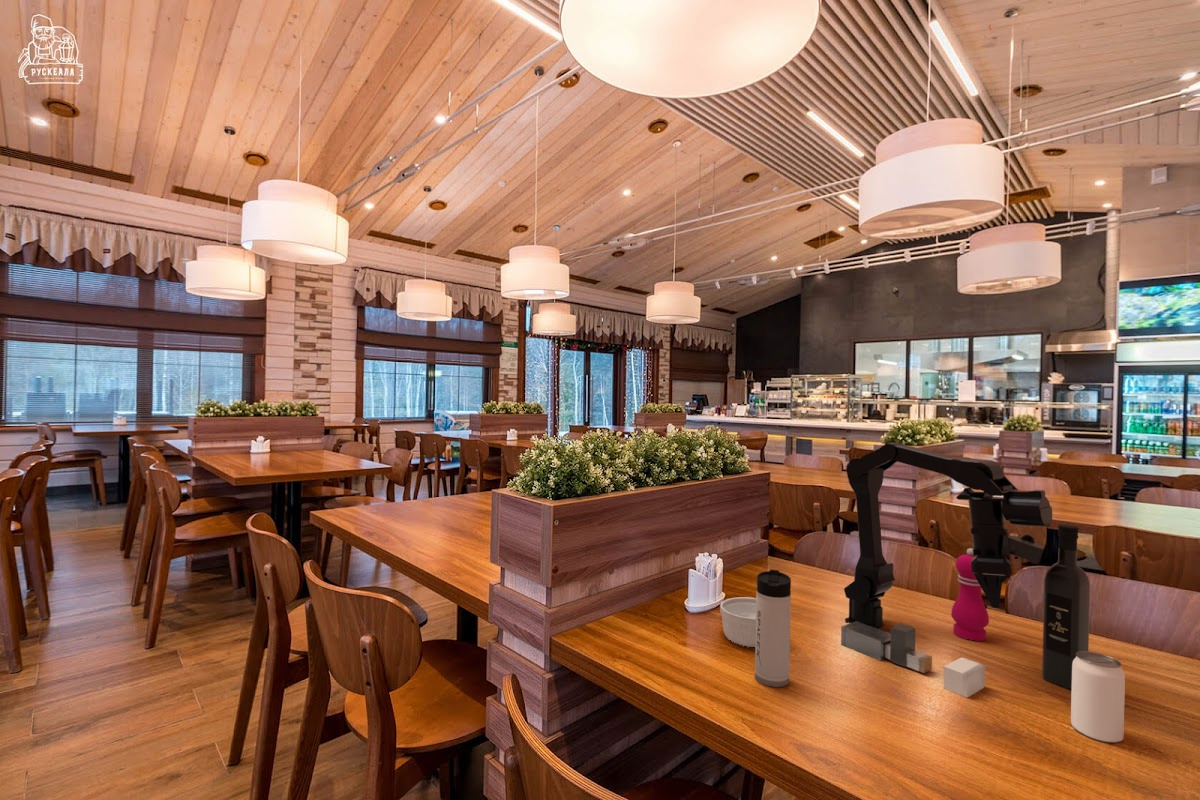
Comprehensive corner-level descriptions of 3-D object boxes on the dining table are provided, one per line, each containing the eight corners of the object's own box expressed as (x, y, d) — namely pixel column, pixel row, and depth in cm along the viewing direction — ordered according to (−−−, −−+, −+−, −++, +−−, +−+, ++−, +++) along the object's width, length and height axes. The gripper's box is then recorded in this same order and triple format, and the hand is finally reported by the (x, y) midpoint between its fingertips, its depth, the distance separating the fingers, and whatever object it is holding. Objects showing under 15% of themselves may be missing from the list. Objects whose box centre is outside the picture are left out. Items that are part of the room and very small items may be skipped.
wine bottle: (1074, 692, 105) (1078, 530, 105) (1039, 678, 110) (1043, 524, 110) (1090, 685, 108) (1093, 527, 108) (1054, 672, 113) (1058, 521, 113)
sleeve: (841, 644, 124) (841, 626, 124) (855, 638, 127) (856, 621, 127) (880, 660, 117) (880, 641, 117) (895, 654, 120) (895, 635, 120)
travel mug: (789, 674, 111) (791, 571, 110) (789, 690, 104) (791, 581, 104) (756, 668, 113) (758, 567, 112) (753, 684, 106) (755, 577, 106)
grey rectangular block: (943, 688, 106) (943, 666, 106) (961, 678, 110) (961, 657, 110) (966, 697, 103) (967, 675, 103) (984, 687, 107) (984, 665, 107)
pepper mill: (977, 630, 133) (979, 544, 133) (995, 643, 126) (997, 553, 126) (944, 628, 134) (946, 543, 134) (961, 641, 127) (963, 551, 127)
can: (1060, 721, 96) (1062, 650, 96) (1095, 720, 96) (1097, 649, 96) (1097, 745, 89) (1098, 668, 89) (1135, 743, 90) (1136, 667, 90)
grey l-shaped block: (848, 644, 124) (848, 612, 124) (858, 640, 126) (858, 608, 126) (923, 674, 111) (923, 638, 111) (932, 669, 113) (933, 634, 113)
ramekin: (714, 644, 123) (715, 612, 123) (725, 622, 136) (725, 593, 136) (778, 656, 118) (779, 622, 118) (783, 632, 131) (783, 601, 131)
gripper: (1040, 531, 103) (1050, 620, 102) (1034, 518, 118) (1043, 595, 117) (967, 528, 109) (975, 612, 108) (971, 516, 124) (978, 589, 123)
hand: (995, 601), depth 114 cm, fingers open, 9 cm apart
